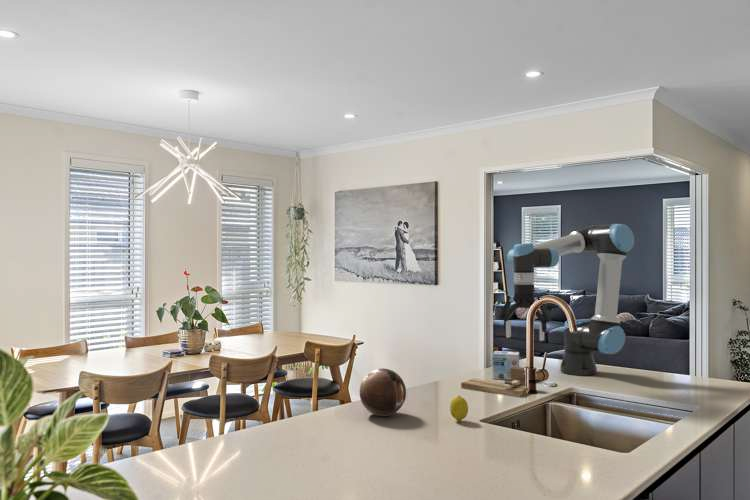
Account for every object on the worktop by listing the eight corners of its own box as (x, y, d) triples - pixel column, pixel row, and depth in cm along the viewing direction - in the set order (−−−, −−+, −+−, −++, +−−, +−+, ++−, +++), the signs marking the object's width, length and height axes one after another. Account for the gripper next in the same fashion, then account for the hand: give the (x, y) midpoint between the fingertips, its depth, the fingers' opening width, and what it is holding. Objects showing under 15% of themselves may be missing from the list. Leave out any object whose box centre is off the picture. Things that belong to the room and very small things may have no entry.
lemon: (467, 424, 180) (467, 398, 180) (449, 423, 181) (449, 397, 181) (468, 419, 186) (468, 393, 186) (450, 418, 187) (450, 393, 187)
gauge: (514, 387, 230) (514, 366, 230) (529, 389, 226) (529, 368, 226) (498, 393, 219) (498, 372, 219) (514, 396, 215) (513, 374, 215)
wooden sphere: (352, 412, 194) (351, 367, 194) (391, 407, 201) (391, 363, 201) (372, 424, 180) (372, 375, 180) (414, 418, 187) (414, 370, 187)
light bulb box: (492, 379, 244) (492, 353, 244) (493, 375, 251) (493, 350, 251) (518, 380, 241) (518, 354, 241) (519, 377, 248) (519, 351, 248)
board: (473, 383, 236) (473, 378, 236) (530, 391, 222) (530, 386, 222) (461, 387, 228) (461, 382, 228) (519, 397, 214) (519, 391, 214)
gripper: (490, 283, 231) (491, 337, 231) (552, 285, 216) (552, 342, 216) (498, 282, 237) (499, 335, 237) (559, 283, 222) (560, 340, 222)
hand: (524, 338), depth 227 cm, fingers open, 13 cm apart
